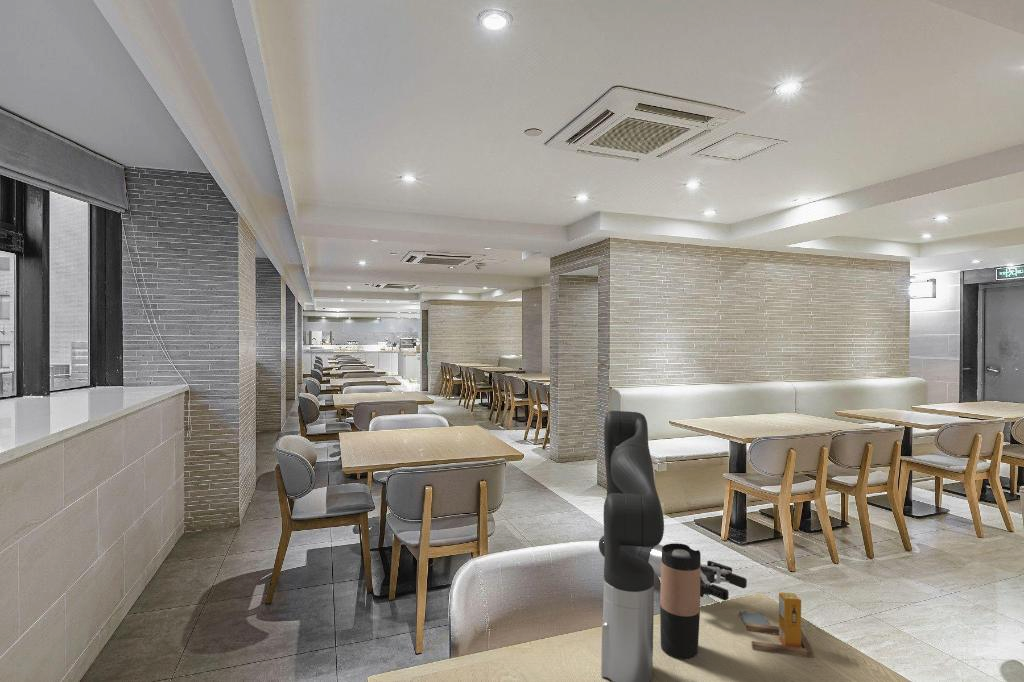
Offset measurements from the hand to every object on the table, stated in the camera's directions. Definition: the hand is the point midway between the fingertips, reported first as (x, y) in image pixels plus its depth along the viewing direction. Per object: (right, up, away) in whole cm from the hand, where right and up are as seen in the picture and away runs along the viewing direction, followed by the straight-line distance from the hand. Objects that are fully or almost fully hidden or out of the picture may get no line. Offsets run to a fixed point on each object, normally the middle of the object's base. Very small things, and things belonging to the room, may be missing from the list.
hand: (737, 589), depth 118 cm
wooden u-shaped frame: (+5, -7, -7) cm, 11 cm away
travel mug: (-16, -7, -11) cm, 21 cm away
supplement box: (+7, -8, -8) cm, 13 cm away
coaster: (+4, -7, 0) cm, 8 cm away
